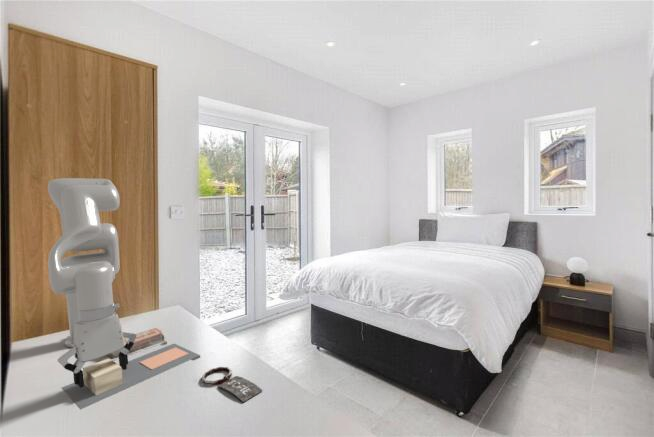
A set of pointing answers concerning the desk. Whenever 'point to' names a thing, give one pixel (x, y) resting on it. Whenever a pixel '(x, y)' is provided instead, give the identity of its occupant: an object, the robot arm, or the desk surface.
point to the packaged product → (141, 343)
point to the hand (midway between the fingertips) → (102, 376)
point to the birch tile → (102, 376)
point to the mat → (134, 373)
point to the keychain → (233, 384)
